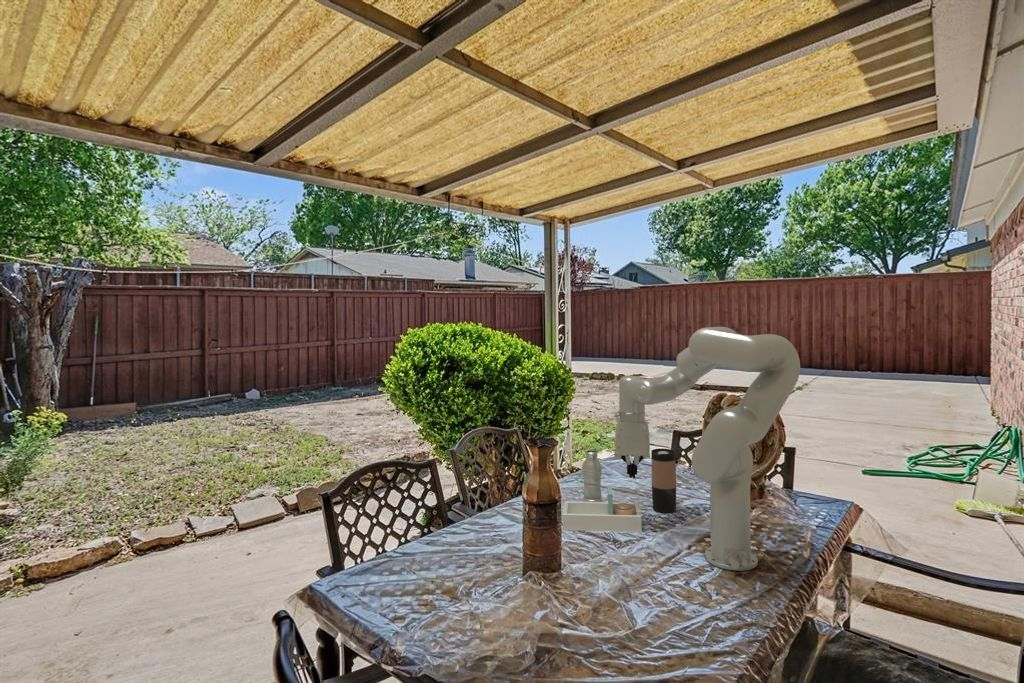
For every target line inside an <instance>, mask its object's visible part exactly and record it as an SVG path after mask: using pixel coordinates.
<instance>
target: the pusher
mask: <svg viewBox="0 0 1024 683" xmlns="http://www.w3.org/2000/svg"><path fill="white" fill-rule="evenodd" d="M613 499H614V497H613V488H612V485H607V502H608V515H613V502H614V500H613Z"/></svg>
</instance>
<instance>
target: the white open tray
mask: <svg viewBox="0 0 1024 683" xmlns="http://www.w3.org/2000/svg"><path fill="white" fill-rule="evenodd" d="M619 503H620V502H614V501H613V515H608V501H607V502H606V501H603V502H583V501H564V504H563V509H562V530H563V531H585V532H586V531H587V532H589V531H592V532H618V533H619V532H623V533H642V532H643V531H642V530H643V528H642V526H643V524H642V511H641V506H640V502H639V501H638V500H634V501H633V502H626V503H627V504H630V505H632V506H633V507H634V515H614V506H615V505H616V504H619Z"/></svg>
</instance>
